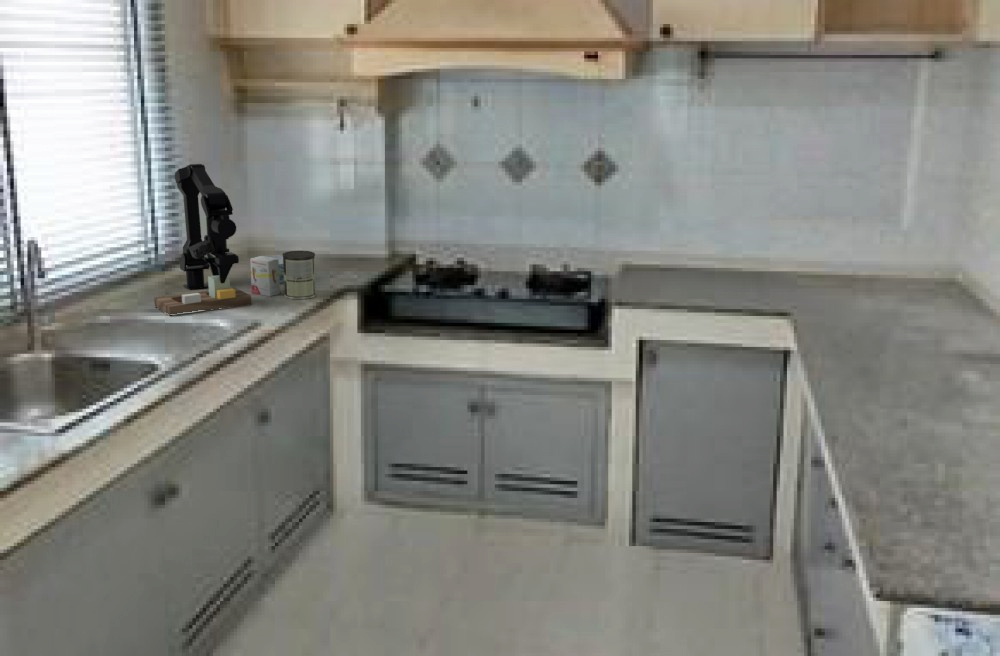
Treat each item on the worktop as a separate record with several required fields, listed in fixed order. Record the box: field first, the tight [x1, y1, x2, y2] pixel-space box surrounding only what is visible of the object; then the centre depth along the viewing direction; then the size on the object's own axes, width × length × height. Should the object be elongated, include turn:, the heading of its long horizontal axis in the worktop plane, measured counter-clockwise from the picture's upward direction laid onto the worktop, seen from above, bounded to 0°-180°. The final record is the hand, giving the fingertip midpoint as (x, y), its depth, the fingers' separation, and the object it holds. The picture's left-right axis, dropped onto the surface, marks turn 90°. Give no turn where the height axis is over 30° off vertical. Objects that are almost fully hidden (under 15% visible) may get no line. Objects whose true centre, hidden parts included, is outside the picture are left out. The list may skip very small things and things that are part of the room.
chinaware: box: [265, 254, 284, 284], centre depth 341 cm, size 15×15×8 cm
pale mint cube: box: [207, 275, 231, 298], centre depth 310 cm, size 5×5×7 cm
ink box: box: [249, 255, 281, 297], centre depth 324 cm, size 9×5×12 cm, turn 57°
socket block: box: [153, 286, 253, 315], centre depth 307 cm, size 13×26×5 cm, turn 128°
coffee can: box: [282, 250, 317, 300], centre depth 321 cm, size 10×10×14 cm
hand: (219, 281), depth 309 cm, fingers closed on pale mint cube, 5 cm apart
